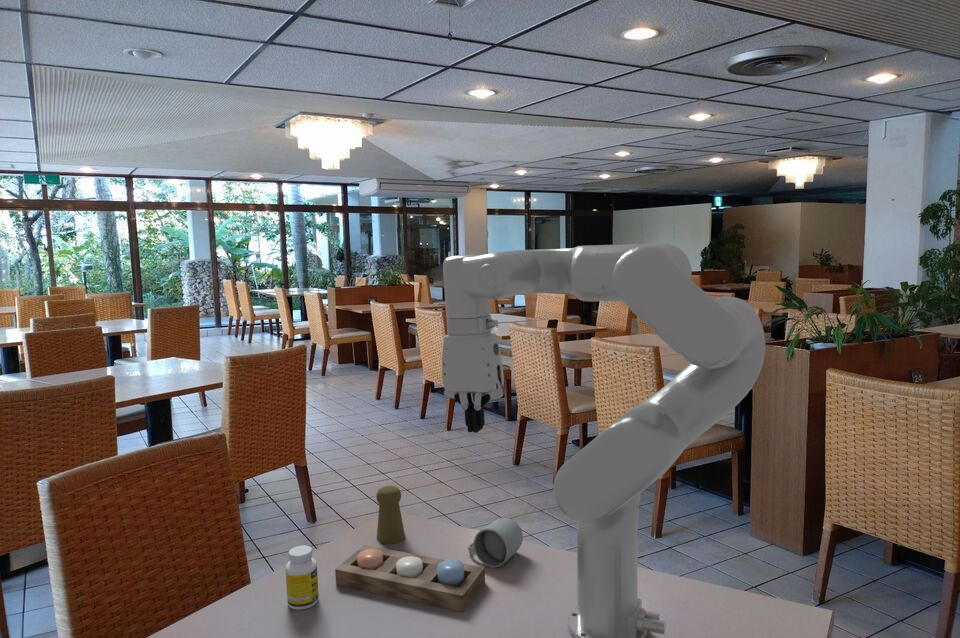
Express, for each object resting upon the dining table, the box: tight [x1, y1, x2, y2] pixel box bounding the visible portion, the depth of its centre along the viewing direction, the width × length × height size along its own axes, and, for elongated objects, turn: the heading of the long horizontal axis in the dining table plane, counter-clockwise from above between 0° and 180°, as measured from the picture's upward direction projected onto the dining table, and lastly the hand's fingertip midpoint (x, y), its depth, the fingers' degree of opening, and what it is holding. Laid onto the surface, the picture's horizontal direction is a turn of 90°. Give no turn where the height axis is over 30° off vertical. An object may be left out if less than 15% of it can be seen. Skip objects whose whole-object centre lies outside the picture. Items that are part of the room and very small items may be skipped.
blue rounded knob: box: [437, 559, 465, 587], centre depth 119 cm, size 5×5×3 cm
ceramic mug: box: [467, 517, 524, 568], centre depth 132 cm, size 11×8×8 cm
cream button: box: [396, 556, 423, 579], centre depth 123 cm, size 5×5×3 cm
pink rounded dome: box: [357, 549, 383, 570], centre depth 126 cm, size 5×5×3 cm
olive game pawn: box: [375, 485, 406, 545], centre depth 141 cm, size 6×6×11 cm
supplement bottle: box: [285, 544, 320, 611], centre depth 117 cm, size 5×5×10 cm
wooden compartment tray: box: [334, 544, 486, 613], centre depth 123 cm, size 26×10×3 cm, turn 67°
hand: (475, 430), depth 116 cm, fingers closed
